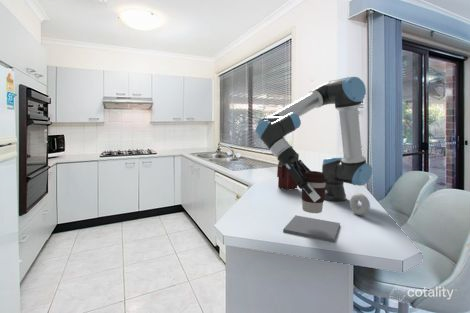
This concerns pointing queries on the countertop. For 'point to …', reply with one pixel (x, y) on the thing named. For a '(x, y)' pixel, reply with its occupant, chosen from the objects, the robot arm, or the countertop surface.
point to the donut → (364, 202)
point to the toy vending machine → (285, 177)
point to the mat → (313, 228)
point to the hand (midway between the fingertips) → (321, 197)
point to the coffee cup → (318, 184)
